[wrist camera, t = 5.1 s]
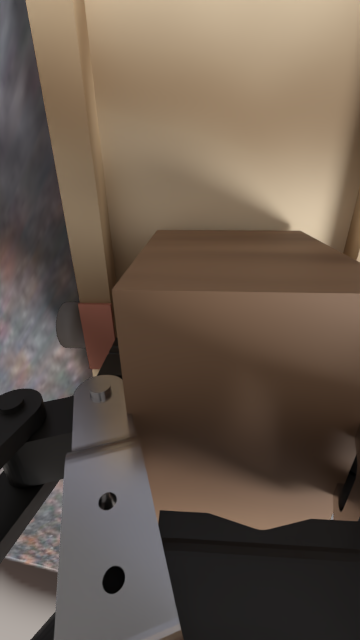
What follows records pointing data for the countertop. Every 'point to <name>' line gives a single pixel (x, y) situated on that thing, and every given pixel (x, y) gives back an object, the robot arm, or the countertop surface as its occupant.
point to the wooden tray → (195, 129)
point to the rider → (242, 371)
